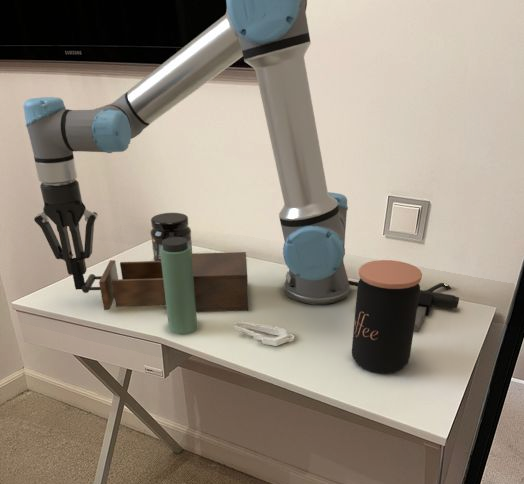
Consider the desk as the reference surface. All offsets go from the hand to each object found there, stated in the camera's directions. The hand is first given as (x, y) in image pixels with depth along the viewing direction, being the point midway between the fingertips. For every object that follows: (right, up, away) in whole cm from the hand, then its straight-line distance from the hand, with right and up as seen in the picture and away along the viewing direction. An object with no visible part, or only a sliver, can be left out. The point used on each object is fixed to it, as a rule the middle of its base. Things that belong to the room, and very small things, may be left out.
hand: (80, 286), depth 122 cm
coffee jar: (+63, -16, -21) cm, 69 cm away
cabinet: (+29, -2, +3) cm, 29 cm away
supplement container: (+17, +9, +23) cm, 30 cm away
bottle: (+25, -10, -9) cm, 28 cm away
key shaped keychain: (+41, -12, -13) cm, 45 cm away
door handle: (+73, -6, -4) cm, 73 cm away
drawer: (+12, -2, +2) cm, 12 cm away
